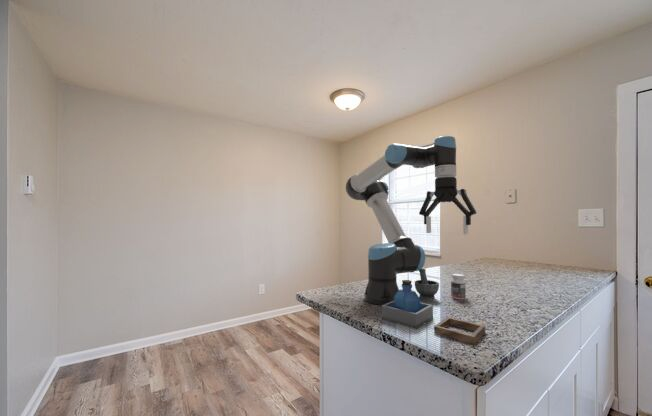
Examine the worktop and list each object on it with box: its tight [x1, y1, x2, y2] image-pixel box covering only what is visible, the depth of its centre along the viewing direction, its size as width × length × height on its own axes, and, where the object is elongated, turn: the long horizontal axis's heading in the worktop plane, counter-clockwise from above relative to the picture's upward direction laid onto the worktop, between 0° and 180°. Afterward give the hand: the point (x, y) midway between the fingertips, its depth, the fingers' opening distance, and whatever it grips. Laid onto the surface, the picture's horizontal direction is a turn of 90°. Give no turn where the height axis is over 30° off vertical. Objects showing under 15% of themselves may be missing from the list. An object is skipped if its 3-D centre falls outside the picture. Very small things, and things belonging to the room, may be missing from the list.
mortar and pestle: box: [414, 268, 440, 301], centre depth 120 cm, size 11×9×12 cm
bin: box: [381, 301, 434, 330], centre depth 95 cm, size 13×13×4 cm
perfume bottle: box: [394, 279, 421, 313], centre depth 95 cm, size 6×6×12 cm
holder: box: [433, 316, 486, 345], centre depth 83 cm, size 11×11×2 cm
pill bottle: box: [450, 273, 467, 300], centre depth 121 cm, size 6×6×10 cm
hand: (446, 233), depth 104 cm, fingers open, 13 cm apart
